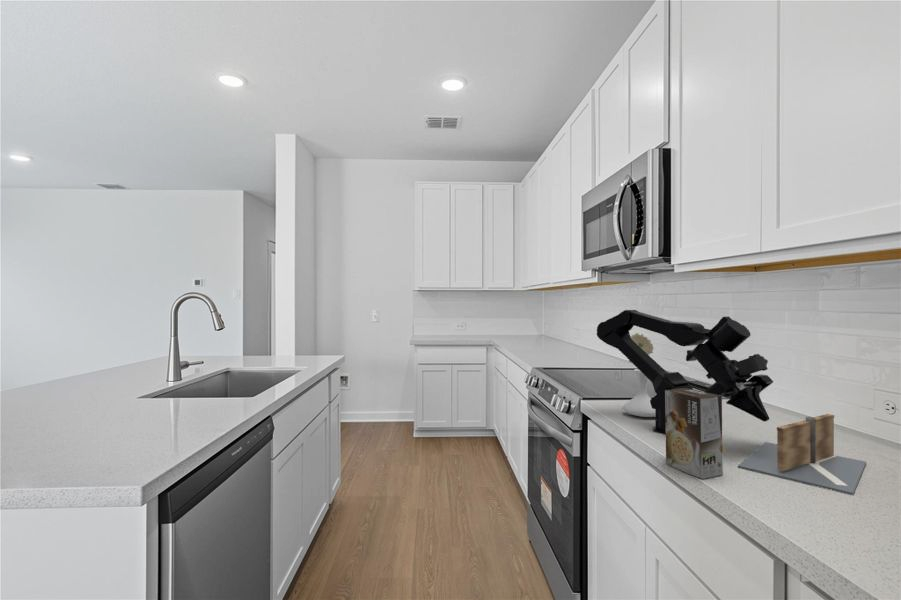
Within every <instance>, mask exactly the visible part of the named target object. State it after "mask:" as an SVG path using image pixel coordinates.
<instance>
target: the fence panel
mask: <svg viewBox="0 0 901 600" xmlns="http://www.w3.org/2000/svg"><path fill="white" fill-rule="evenodd" d="M810 425H811V422H809V421H806V420H801V421H797V422H791V423H788V424H785V425H784V424H783V425H781V426H777V427H776V431H777V432H776V433H777V434H776V435H777V436H776V437H777V439H776V440H777V443H776V444H777V470H780V471H786V470H789V469H792V468H795V467H798V466H801V465H804V464H807V463H810Z"/></svg>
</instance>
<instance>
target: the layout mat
mask: <svg viewBox="0 0 901 600" xmlns="http://www.w3.org/2000/svg"><path fill="white" fill-rule="evenodd" d="M866 464H867V461H866V460H861V459H855V458H851V457H850V458H849V457H845V456H839V455H835V454H834V456H832V457H829V458H826V459H823V460H820V461H817V462H815V463H807V464H804V465H801V466H798V467H795V468H792V469H789V470H786V471H780V470H777V443H773V442H767V441H765V442H764V443H763V444H761V445H760V446H759V447H758V448H757V449H756V450H754V451H753V452H752V453H751V454H750V455H748V457H746V458H745V459H744V460H743V461H742V462H740V463H739V464H738V465H737V468H739V469H742V470H748V471H751V472H755V473H759V474H763V475H768V476H771V475H772V476H773V477H775V478H779V479H780V478H781V479H785V480H787V481H792V480H793V482H796V481H797V482H796V483H800V482H801V484H805V485H809V486H813V485H814V487H817V486H819V488H821V487H823V488H822V489H825V488H827V489H826V490H830V489H832V490H831V491H834V490H836V491H835V492H838V491H840V492H839V493H842V492H844V493H843V494H846V493H847V494H848V495H852V496H854V494H855V492H856V489H857V487H858V484H859V482H860V479H861V478H862V477H861V476H862V475H863V472H864V470H865V467H866ZM772 476H771V477H772Z"/></svg>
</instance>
